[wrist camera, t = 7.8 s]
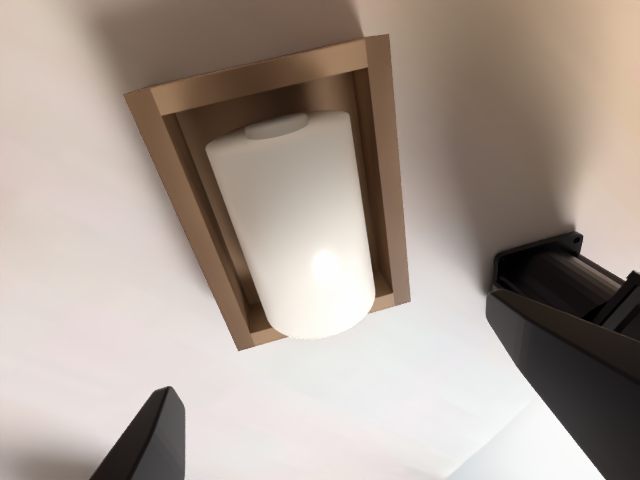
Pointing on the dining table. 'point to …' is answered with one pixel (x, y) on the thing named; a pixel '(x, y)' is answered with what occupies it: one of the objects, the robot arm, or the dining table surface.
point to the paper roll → (299, 219)
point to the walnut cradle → (259, 104)
